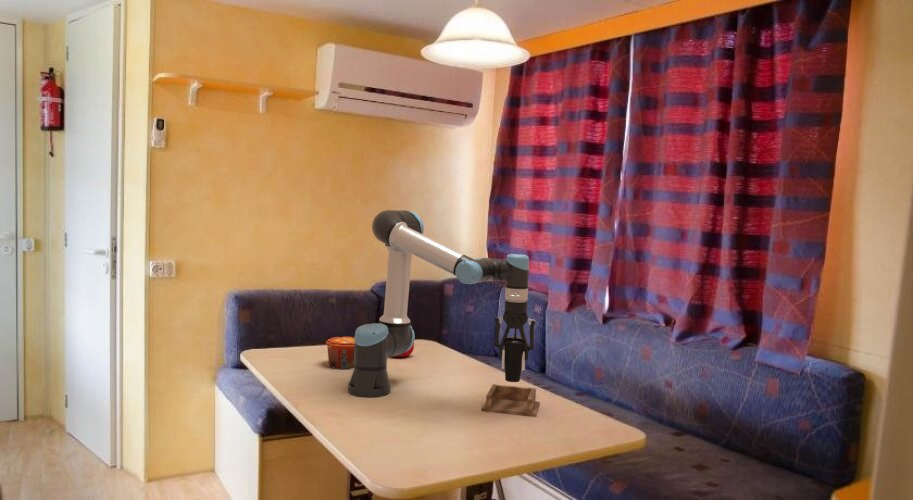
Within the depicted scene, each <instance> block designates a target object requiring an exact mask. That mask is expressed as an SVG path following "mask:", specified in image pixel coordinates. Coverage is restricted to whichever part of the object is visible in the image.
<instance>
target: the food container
mask: <svg viewBox="0 0 913 500" xmlns="http://www.w3.org/2000/svg"><path fill="white" fill-rule="evenodd" d="M354 338H355V337H352V336H342V337H341V336H340V337H339V336H335V337H331V338H329V339H327V340H326V341H325V344H326V346H327V357H328V365H329V367H330V368H332V367H334V368H333V369H336V368H340V369H339V370H351V369H350V368H354Z"/></svg>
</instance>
